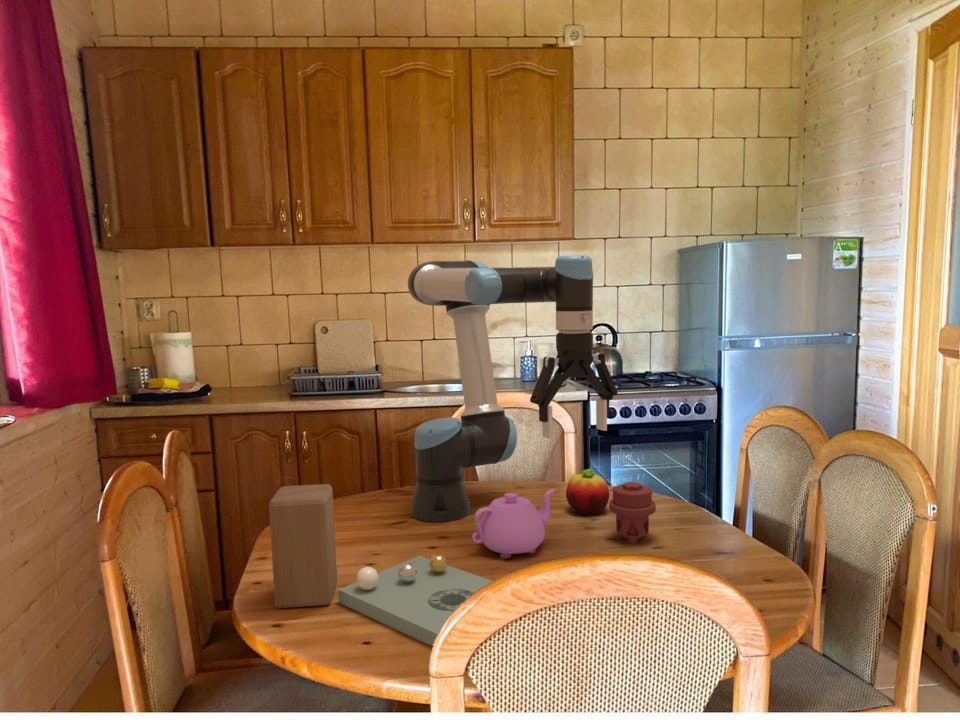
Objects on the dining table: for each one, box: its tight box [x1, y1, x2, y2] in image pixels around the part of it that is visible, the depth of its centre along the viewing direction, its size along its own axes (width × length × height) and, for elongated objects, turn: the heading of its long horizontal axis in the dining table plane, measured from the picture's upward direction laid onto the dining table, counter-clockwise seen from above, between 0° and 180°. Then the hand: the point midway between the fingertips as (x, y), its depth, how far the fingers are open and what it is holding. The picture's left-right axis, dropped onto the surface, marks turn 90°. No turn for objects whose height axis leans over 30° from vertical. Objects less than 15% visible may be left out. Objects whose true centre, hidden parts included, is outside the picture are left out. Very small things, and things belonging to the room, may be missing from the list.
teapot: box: [471, 487, 557, 559], centre depth 145 cm, size 20×14×12 cm
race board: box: [338, 555, 493, 647], centre depth 120 cm, size 26×20×2 cm
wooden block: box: [268, 483, 338, 609], centre depth 124 cm, size 10×10×20 cm
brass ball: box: [429, 553, 448, 573], centre depth 128 cm, size 4×4×4 cm
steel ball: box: [398, 563, 417, 583], centre depth 124 cm, size 4×4×4 cm
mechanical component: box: [608, 481, 657, 545], centre depth 148 cm, size 12×10×10 cm
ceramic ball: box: [355, 566, 379, 590], centre depth 121 cm, size 4×4×4 cm
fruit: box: [565, 468, 610, 515], centre depth 168 cm, size 11×11×10 cm
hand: (575, 433), depth 140 cm, fingers open, 13 cm apart
